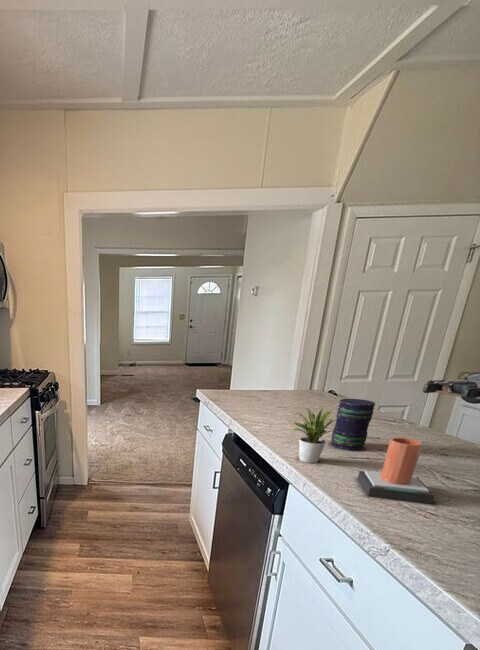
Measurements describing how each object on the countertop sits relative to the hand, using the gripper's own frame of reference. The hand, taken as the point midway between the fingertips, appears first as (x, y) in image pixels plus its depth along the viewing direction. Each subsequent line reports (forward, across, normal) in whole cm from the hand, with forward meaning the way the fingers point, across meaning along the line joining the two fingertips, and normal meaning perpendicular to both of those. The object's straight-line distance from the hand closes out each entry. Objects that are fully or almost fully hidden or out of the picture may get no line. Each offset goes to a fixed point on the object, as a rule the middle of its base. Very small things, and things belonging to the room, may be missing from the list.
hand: (444, 391), depth 94 cm
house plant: (+8, -26, +24) cm, 36 cm away
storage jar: (-13, -31, +24) cm, 41 cm away
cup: (+8, 0, +22) cm, 23 cm away
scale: (+8, 0, +24) cm, 26 cm away
